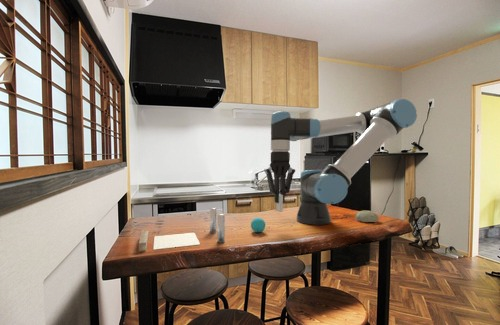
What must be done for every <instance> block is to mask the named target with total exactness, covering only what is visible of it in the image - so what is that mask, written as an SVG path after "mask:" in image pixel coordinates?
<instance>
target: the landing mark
mask: <svg viewBox="0 0 500 325" xmlns="http://www.w3.org/2000/svg"><path fill="white" fill-rule="evenodd" d="M192 246H201V243H200V241H199V239H198V237H197V235H196V233H195V232H188V233H187V232H185V233H177V234H165V235H155V236H154V238H153V249H152V250H153V251H156V250H164V249H165V250H166V249H175V247H176V248H182V247H192Z"/></svg>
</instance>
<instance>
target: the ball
mask: <svg viewBox="0 0 500 325" xmlns="http://www.w3.org/2000/svg"><path fill="white" fill-rule="evenodd" d="M250 227H251V230H252V231H253V232H255V233H262V232H263V231H264V230H265V228H266V221H264V219H263V218H261V217H255V218H254V219H252V221H251V223H250Z"/></svg>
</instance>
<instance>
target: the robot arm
mask: <svg viewBox="0 0 500 325" xmlns="http://www.w3.org/2000/svg"><path fill="white" fill-rule="evenodd" d="M417 114H418V113H417V108H416V106H415V104H414V103H413V102H411V101H410V100H409V99H406V98H398V99H394V100H393V101H390V102H387V103H385V104H382V105H379V106H376V107H374V108H371V109H370V110H366V111H363V112H357V113H356V114H355V115H350V116H343V117H336V118H328V119H320V120H319V119H317V118H306V117H305V118H300V117H299V118H296V117H291V113H290V112H289V111H284V110H283V111H280V110H279V111H275V112H273V113H272V114H271V120H270V121H271V122H270V151H271V152H270V164H269V166H268V167H267V168H264V170H263V171H264V174H265V175H266V178H267V183H268V189H269V192H270V193H271V194H273V195H274V203H276V204H275V211H277V212H280V213H281V212H283V210H284V209H283V207H284V205H283V204H284V203H285V199H286V198H285V196H286V195H287V194H289V193H290V190H291V185H292V182H293V178H294V174H295V172H296V169H295V168H292V167H291V164H290V161H291V160H290V158H291V157H290V156H291V155H290V154H291V153H290V152H289V151H291V142H298V141H302V140H308V139H313V138H314V139H315V138H323V137H329V136H335V135H336V136H337V135H344V134H350V133H356V132H357V133H358V134H361V135H360V136H359V137H358V138H357V139H356V141H355V142H353V143H352V145H350V147H349V148H348V149H347V150H346V151H345V152H343V154H342V155H341V156H340V157H339V158H338V159H337V160H336V161H335V162H334V163H332V164H327V165H326V166H325V167H324V169H310V170H309V169H308V170H303V171H301V172H300V178H299V179H300V204H299V208H298V210H297V213H296V221H297V222H299V223H303V224H307V225H314V226H315V225H327V224H330V223H331V221H332V217H331V213H330V211H329V208H328V207H329V206H328V205H334V204H338V203H341V202H342V201H343V200H344V199H345V198H346V197H347V195H348V191H349V190H348V188H349V187H350V186H351V184H352V180H351V179H352V178H353V176H354V175H356V174H357V172H358V171H359V170H360V169H361V168H362V167H363V166H364V165H365V163H367V162H368V160H370V158H371V157H372V156H373V155H374V154H375V153H376V152H377V151H378V149H380V148H381V146H382V145H383V144H384V143H385V142H386V141H387V140H388V139H393V138H395V137H396V136H397V135H399V133H400V132H401V131H402V130H403V129H405V128H409V127H412V126H413V124H415V122H416V121H417V117H418V115H417Z"/></svg>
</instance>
